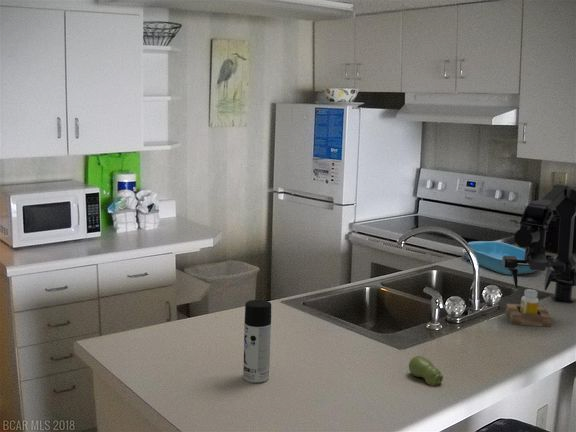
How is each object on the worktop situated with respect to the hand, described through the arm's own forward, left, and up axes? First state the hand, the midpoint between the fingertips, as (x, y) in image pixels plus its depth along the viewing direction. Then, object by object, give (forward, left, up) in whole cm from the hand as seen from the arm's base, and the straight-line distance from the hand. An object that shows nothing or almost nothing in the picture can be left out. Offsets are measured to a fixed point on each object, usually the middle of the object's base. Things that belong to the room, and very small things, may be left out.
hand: (530, 289), depth 225 cm
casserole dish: (-68, +2, -11) cm, 69 cm away
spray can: (+62, -79, -11) cm, 101 cm away
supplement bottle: (0, 0, -11) cm, 11 cm away
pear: (+54, -36, -11) cm, 65 cm away
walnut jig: (0, 0, -10) cm, 10 cm away
